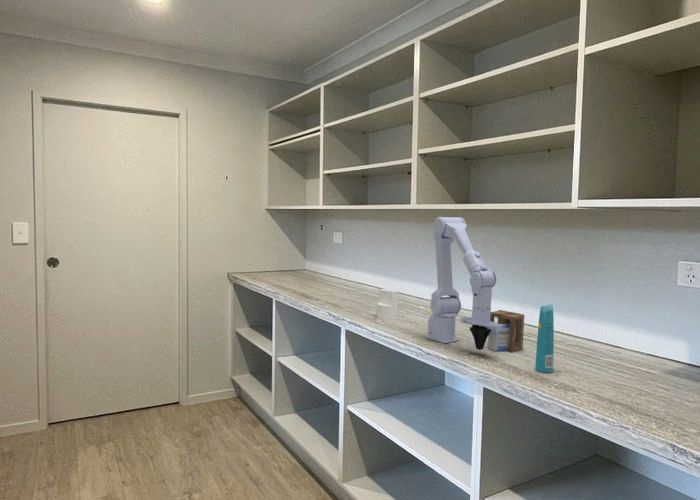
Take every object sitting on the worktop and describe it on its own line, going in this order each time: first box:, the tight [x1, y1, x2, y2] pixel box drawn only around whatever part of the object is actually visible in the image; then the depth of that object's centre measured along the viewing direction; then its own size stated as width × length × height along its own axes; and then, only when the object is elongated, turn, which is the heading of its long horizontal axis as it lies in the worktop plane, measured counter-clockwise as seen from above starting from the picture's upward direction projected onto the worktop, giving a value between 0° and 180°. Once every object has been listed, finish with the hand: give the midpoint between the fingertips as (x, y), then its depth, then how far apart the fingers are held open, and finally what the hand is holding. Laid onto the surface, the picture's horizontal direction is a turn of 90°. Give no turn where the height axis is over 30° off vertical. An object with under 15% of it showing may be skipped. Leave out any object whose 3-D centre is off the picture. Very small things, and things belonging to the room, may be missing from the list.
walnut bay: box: [488, 309, 525, 353], centre depth 166 cm, size 9×6×12 cm
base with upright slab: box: [376, 288, 399, 321], centre depth 212 cm, size 9×9×12 cm
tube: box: [534, 303, 555, 373], centre depth 142 cm, size 7×5×19 cm, turn 139°
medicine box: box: [487, 322, 516, 353], centre depth 165 cm, size 8×4×9 cm, turn 112°
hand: (479, 349), depth 158 cm, fingers closed
